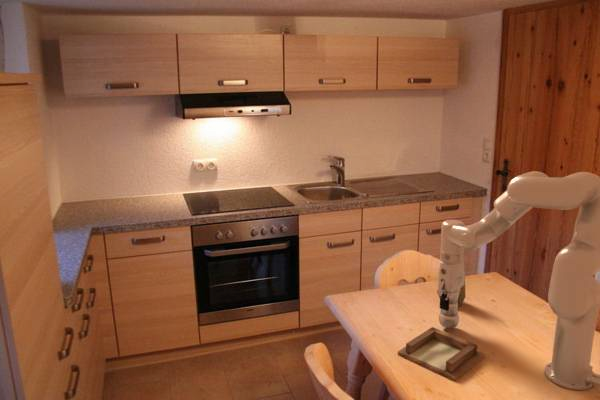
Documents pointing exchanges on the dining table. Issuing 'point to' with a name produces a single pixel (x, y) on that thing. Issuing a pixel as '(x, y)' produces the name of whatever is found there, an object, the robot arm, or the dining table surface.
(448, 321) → the plastic bottle
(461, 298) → the squeeze bottle
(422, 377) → the dining table surface
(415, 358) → the tray
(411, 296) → the dining table surface
